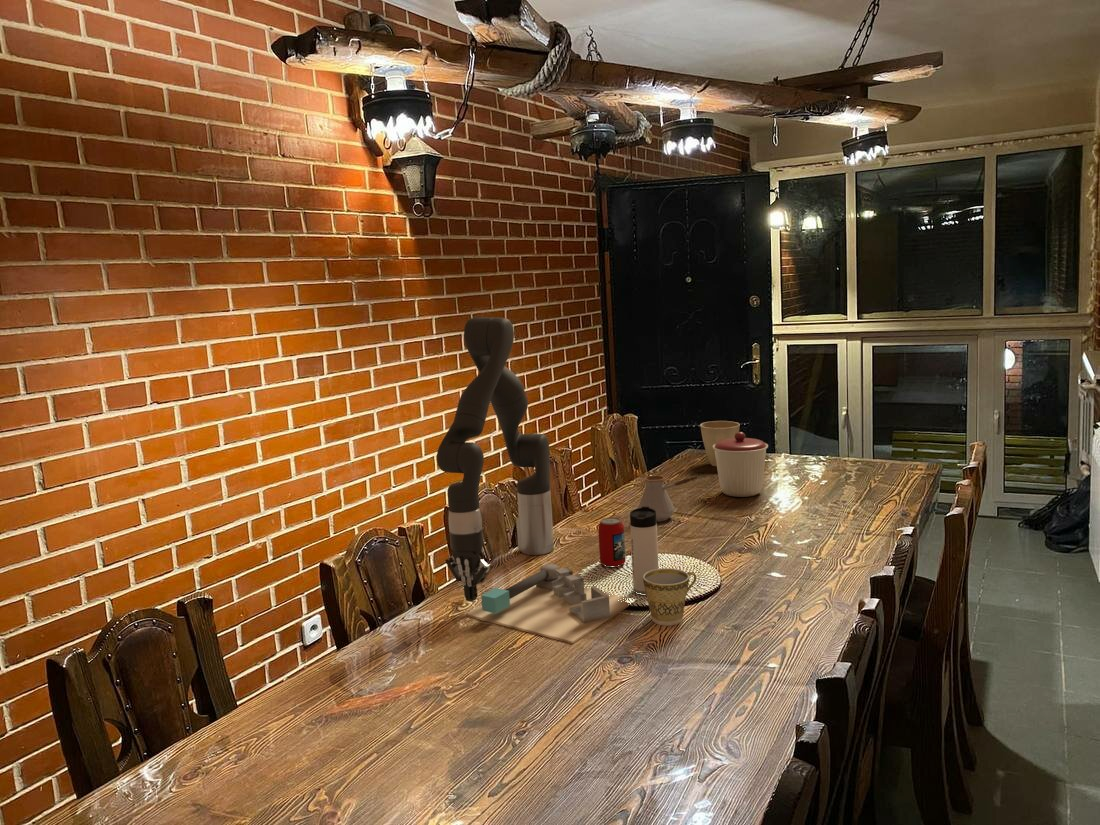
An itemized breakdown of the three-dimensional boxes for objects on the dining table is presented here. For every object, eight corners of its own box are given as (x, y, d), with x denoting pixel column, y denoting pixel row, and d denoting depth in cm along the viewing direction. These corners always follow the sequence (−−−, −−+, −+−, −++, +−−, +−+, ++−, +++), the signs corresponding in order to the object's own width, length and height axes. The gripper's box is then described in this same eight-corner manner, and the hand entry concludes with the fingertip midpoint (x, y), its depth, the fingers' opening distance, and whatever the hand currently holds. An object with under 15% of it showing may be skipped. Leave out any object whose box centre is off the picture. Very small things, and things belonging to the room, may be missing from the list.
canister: (776, 489, 278) (774, 428, 275) (758, 502, 263) (757, 438, 260) (725, 484, 288) (723, 426, 285) (705, 497, 273) (703, 435, 270)
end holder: (569, 612, 185) (568, 591, 184) (595, 605, 187) (594, 585, 187) (584, 623, 178) (582, 602, 177) (610, 617, 181) (609, 596, 180)
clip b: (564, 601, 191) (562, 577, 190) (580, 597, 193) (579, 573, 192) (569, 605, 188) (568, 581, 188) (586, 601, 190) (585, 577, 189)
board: (465, 615, 188) (464, 605, 187) (534, 579, 208) (534, 569, 208) (572, 643, 170) (572, 632, 169) (636, 600, 190) (636, 590, 190)
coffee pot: (630, 520, 253) (628, 473, 250) (649, 511, 262) (647, 465, 259) (693, 530, 240) (691, 480, 237) (710, 519, 249) (709, 471, 246)
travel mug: (662, 586, 198) (658, 506, 195) (656, 596, 192) (653, 514, 189) (636, 584, 200) (633, 505, 197) (630, 595, 194) (626, 513, 191)
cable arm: (548, 574, 205) (547, 560, 204) (562, 577, 202) (561, 563, 201) (481, 610, 185) (480, 595, 184) (496, 613, 182) (495, 598, 181)
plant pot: (701, 469, 312) (700, 428, 310) (701, 460, 327) (699, 421, 324) (741, 468, 310) (740, 427, 307) (739, 459, 324) (738, 420, 322)
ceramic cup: (662, 633, 172) (660, 588, 171) (635, 617, 181) (633, 574, 179) (711, 618, 178) (709, 574, 176) (683, 604, 187) (681, 562, 185)
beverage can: (624, 568, 211) (622, 524, 210) (598, 568, 213) (596, 524, 211) (627, 559, 218) (625, 516, 216) (602, 559, 219) (599, 516, 217)
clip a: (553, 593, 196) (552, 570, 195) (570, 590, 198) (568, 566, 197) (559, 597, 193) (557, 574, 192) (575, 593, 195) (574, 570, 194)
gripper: (433, 528, 188) (439, 600, 191) (476, 536, 180) (482, 611, 183) (455, 520, 194) (461, 589, 196) (498, 527, 186) (503, 599, 189)
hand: (471, 599), depth 190 cm, fingers closed
